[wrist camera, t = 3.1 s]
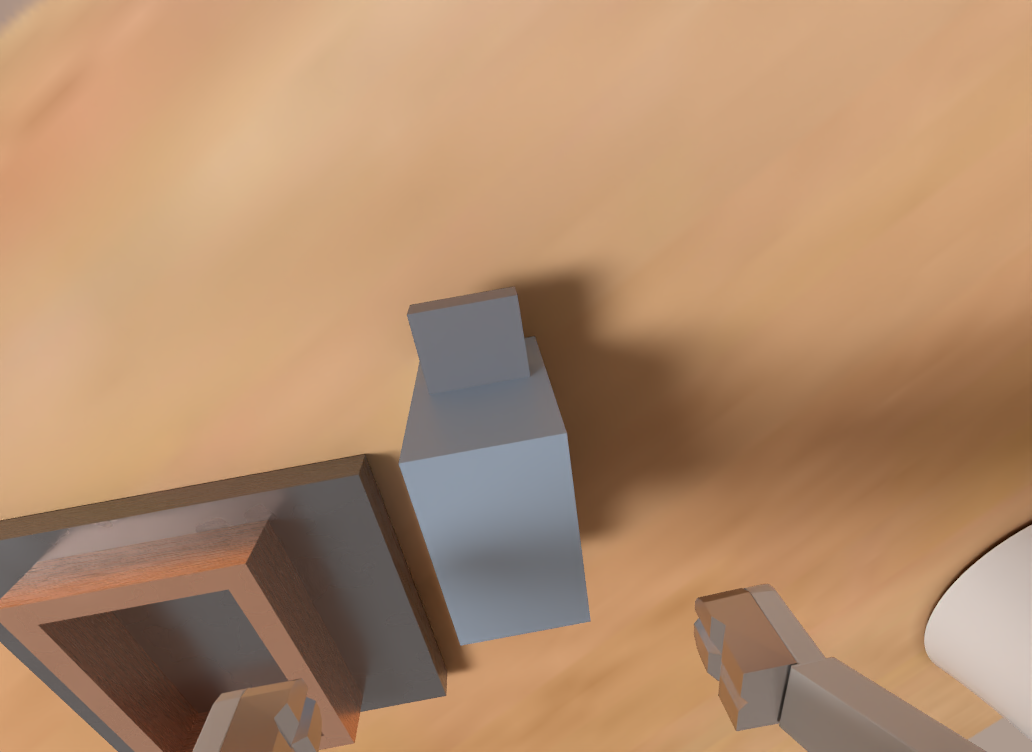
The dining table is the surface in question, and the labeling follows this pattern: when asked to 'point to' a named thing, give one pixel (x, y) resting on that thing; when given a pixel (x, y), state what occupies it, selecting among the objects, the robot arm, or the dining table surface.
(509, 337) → the block
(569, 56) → the dining table surface
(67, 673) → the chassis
